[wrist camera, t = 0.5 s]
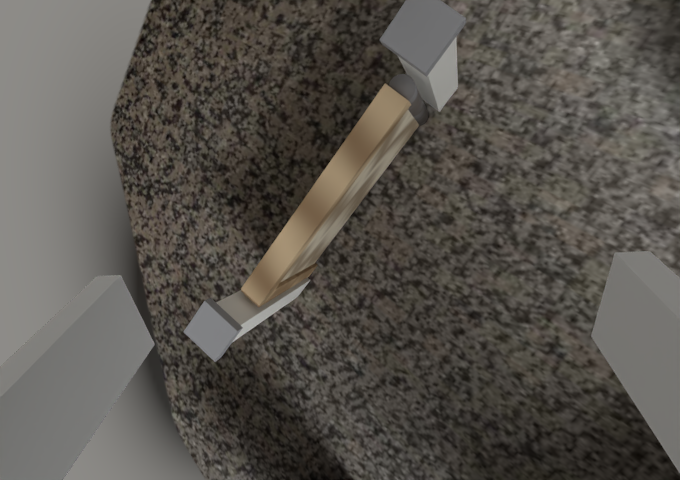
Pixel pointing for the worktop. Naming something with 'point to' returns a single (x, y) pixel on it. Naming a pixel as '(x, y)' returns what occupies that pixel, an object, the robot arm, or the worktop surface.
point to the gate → (339, 189)
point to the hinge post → (427, 47)
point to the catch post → (233, 319)
